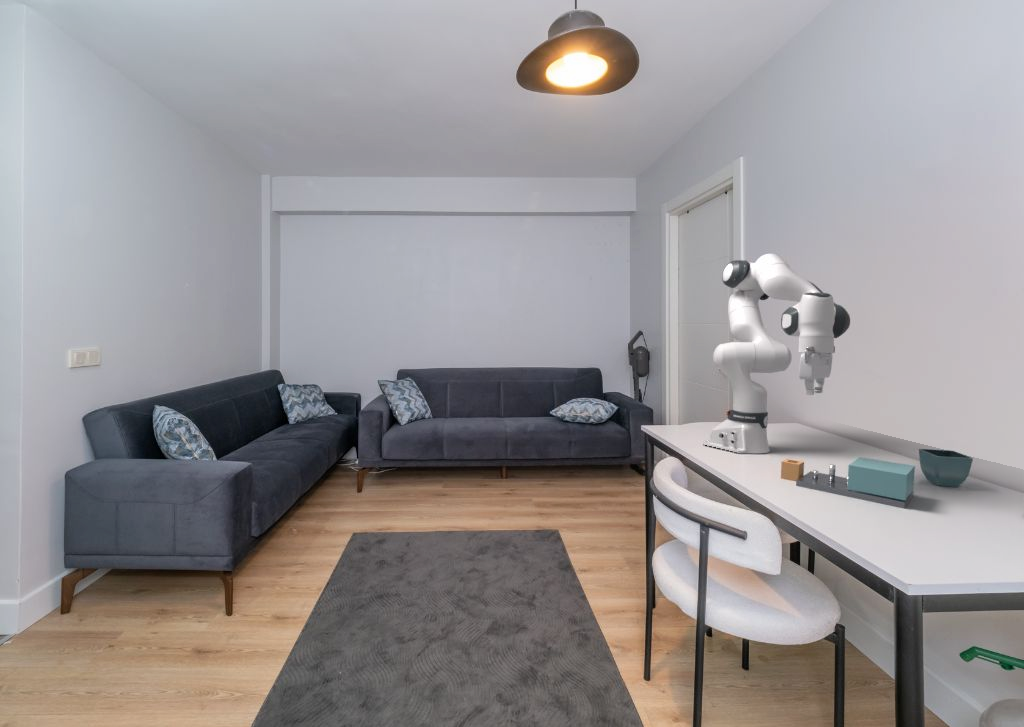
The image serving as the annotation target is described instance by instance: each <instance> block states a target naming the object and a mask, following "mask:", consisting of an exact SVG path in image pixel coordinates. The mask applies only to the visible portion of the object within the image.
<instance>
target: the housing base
mask: <svg viewBox="0 0 1024 727" xmlns="http://www.w3.org/2000/svg"><path fill="white" fill-rule="evenodd" d="M836 468H837V467H836V464H830V463H829V471H828V472H829V473H827V474H826V473H822V472H819V470H813V471H809V472H807V473H805V474H804V476H802V477H801V478H799V479H797V480H796V481H795V486H797V487H802V488H805V489H806V488H807V489H810V490H816V491H821V492H826V493H829V494H835V495H839V496H845V497H850V498H854V499H858V500H859V499H860V500H863V501H868V502H872V503H878V504H882V505H888V506H890V507H891V506H892V507H896V508H901V509H905V508H906V507H907V505H908V504H909V503H910V501H911V500H912V499H913V497H914V493H915V492H914V490H913V491H912V492H911V494H910V495H909V496H908V498H907V499H906V500H900V499H895V498H890V497H885V496H880V495H875V494H870V493H865V492H860V491H855V490H850V489H847V487H848V476H846V477H843V476H839V475H836Z"/></svg>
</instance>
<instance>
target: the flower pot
mask: <svg viewBox="0 0 1024 727" xmlns="http://www.w3.org/2000/svg"><path fill="white" fill-rule="evenodd" d="M918 457H919V464H920V469H921V472H922V474H923V475H924V478H925V479H926V480H927V481H928V482H930V483H933V484H934V485H936V486H938V487H941V486H942V487H953V488H957V487H960V486H961V485H962V484H963V483H964V482H965V481H966V480H967V478H968V477H969V475H970V471H971V467H972V465H973V459H974V457H971V456H969V455H966V454H963V453H960V452H958V451H955V450H949V449H931V448H929V449H928V448H918Z"/></svg>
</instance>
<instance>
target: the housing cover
mask: <svg viewBox="0 0 1024 727" xmlns="http://www.w3.org/2000/svg"><path fill="white" fill-rule="evenodd" d="M915 470H916V466H915V465H913V464H905V463H899V462H893V461H888V460H887V461H886V460H882V459H881V460H880V459H875V458H868V457H861V456H859V457H858V458H856V459H855V460H853V461H852V462H851V463H850V464H848V470H847V472H848V473H847V477H848V487H847V489H850V490H855V491H860V492H865V493H870V494H875V495H880V496H885V497H890V498H895V499H900V500H906V499H907V498H908V496H909V495H910V494H911V492H912V491H914V490H915V489H914V488H915V487H914V486H915Z"/></svg>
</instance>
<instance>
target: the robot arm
mask: <svg viewBox="0 0 1024 727" xmlns="http://www.w3.org/2000/svg"><path fill="white" fill-rule="evenodd" d="M721 280H722V282H723V284H724V285H725V286H726V287H728V288H730V289H736V290H737V291H735V292H733V293H732V294H731V295H730V296H729V298H728V305H727V315H728V323H729V330H730V334H731V336H732V337H733V339H735V340H736V341H731V342H724V343H719V345H717V346H716V347H715V349H714V352H713V353H712V360H713V364H714V365H715V367H716V368H717V369H718V370H719V371H721V372H722V373H723V374H724V375H725V377H727V379H728V381H729V383H730V385H731V389H732V390H731V391H732V408H731V409H729V410H727V411H725V416H727V418H726V419H725V420H723V421H722V422H720V423H718V424H717V425H715V426H714V427H713V428H711V431H710V434H709V438H707V439H705V440H703V442H702V445H703V444H704V445H703V446H705V445H707V446H706V447H709V446H712V447H711V448H713V447H716V448H715V449H717V448H721V449H720V450H722V449H725V450H724V451H726V450H729V451H728V452H730V451H733V452H732V453H734V452H737V453H736V454H767V453H770V452H771V449H770V446H769V440H768V432H767V430H768V429H767V428H768V424H769V416H768V414H769V413H768V410H767V408H768V407H767V405H768V404H767V403H768V391H767V389H766V387H764V386H763V385H761V384H760V383H758V382H756V381H753V380H752V379H751V374H754V373H755V374H756V373H757V374H758V373H760V374H773V373H779V372H784V371H786V370H787V369H788V368H789V367H790V365H791V362H792V356H793V355H792V352H791V350H790V348H789V347H788V346H787V345H785V344H783V343H781V342H780V341H778V340H777V339H775V338H774V337H772V336H771V335H770V334H769V332H768V331H767V329H766V328H765V327H764V323H763V319H762V315H761V311H760V307H759V301H765V300H768V299H769V298H771V299H774V300H779V301H788V302H789V301H790V302H796V304H795V305H793V306H789V307H788V308H787V309H785V311H783V313H782V315H781V320H780V325H781V326H780V327H781V330H783V332H784V333H785V334H786V335H788V336H791V337H798V353H800V354H801V355H800V359H799V366H798V367H799V368H798V378H799V379H800V380H804V387H805V394H806V395H807V396H813V395H814V394H822V393H823V390H824V389H823V388H824V384H825V379H826V378H830V375H831V372H832V365H833V364H832V363H833V354H835V353H836V346H835V339H838V338H839V337H841V336H843V335H844V334H845V333H846V332H847V331H848V329H849V328H850V325H851V317H850V314H849V313H848V311H847V310H846V308H844V307H843V305H840V304H837V303H835V301H834V298H833V295H832V294H830V293H828V292H823V291H822V290H821V289H820V288H819V287H818V286H817V285H816V284H815V283H813V282H811V281H810V280H808V279H806V278H805V277H802V276H801V275H800V274H798V273H797V272H796V271H794V270H793V269H792V268H791V266H790V264H788V262H786V260H784V259H783V258H782V257H780V256H779V255H777V253H766V254H763V255H761V256H760V257H759V258H757V260H756V261H755V262H751V261H748V260H747V259H746V260H743V259H739V260H738V259H737V260H731V261H730V262H728V263H727V264H726V265H725V267H724V269H723V272H722V275H721ZM814 384H815V386H814Z"/></svg>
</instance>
